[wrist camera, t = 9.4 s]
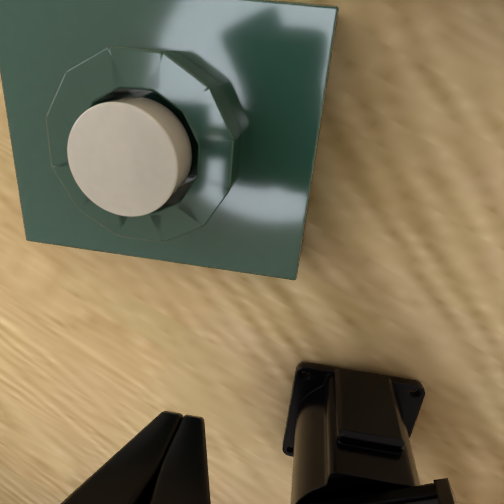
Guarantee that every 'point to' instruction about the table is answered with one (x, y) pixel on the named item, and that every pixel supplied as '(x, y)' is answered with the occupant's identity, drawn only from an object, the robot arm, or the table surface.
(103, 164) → the button
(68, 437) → the table surface
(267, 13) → the control block
